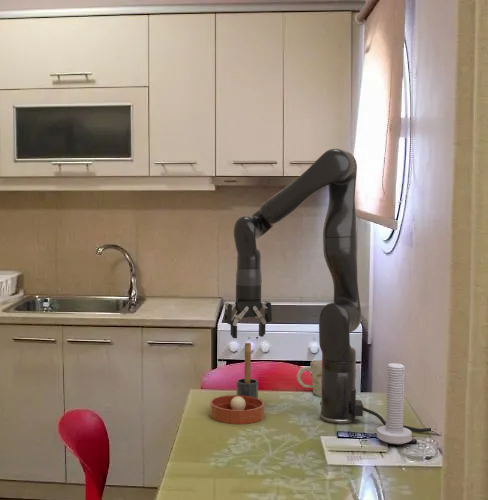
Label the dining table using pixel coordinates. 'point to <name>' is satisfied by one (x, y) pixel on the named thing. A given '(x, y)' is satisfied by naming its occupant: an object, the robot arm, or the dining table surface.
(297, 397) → the dining table surface
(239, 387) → the tube
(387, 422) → the screw
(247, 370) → the stick
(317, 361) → the mug
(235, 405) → the dough ball
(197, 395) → the dining table surface
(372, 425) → the dining table surface
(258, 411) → the bowl
